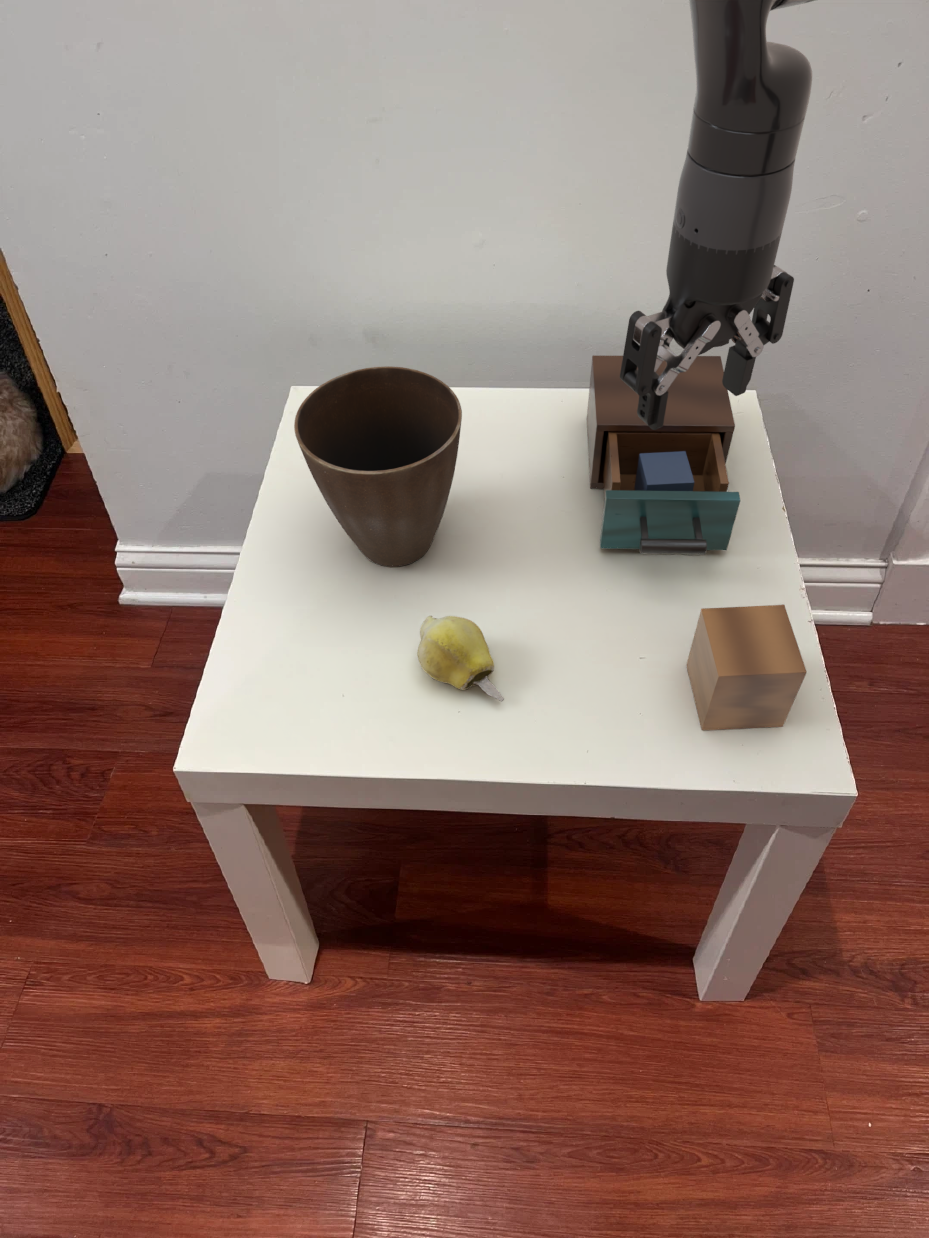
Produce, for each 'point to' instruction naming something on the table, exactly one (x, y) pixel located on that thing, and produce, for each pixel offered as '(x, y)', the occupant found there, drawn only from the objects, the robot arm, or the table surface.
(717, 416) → the cabinet
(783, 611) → the cube
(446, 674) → the fruit
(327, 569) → the table surface
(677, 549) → the drawer
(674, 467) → the block
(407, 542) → the flower pot
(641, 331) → the robot arm
